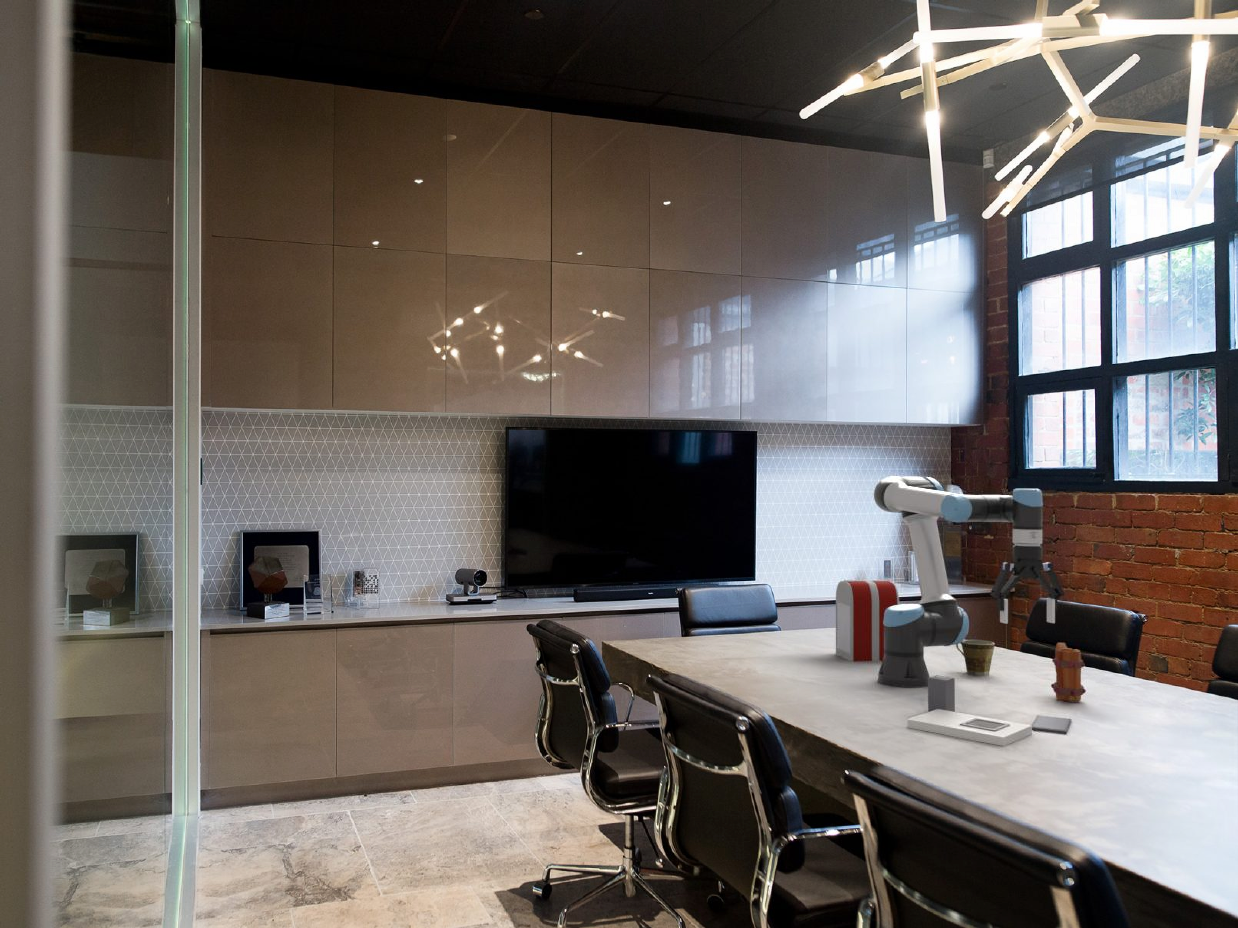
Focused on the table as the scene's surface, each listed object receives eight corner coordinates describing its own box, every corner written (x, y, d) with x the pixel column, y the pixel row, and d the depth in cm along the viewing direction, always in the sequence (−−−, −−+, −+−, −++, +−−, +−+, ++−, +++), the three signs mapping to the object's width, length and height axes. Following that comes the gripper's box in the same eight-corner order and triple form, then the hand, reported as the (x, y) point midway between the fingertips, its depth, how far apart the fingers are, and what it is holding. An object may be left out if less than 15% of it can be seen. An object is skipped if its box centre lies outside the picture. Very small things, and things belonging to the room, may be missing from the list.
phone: (1030, 732, 232) (1030, 726, 232) (1037, 719, 245) (1037, 714, 245) (1066, 736, 228) (1066, 730, 228) (1071, 723, 241) (1071, 718, 241)
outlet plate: (907, 727, 234) (907, 717, 234) (937, 716, 245) (937, 707, 246) (1003, 746, 217) (1003, 735, 217) (1031, 733, 228) (1031, 724, 229)
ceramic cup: (1001, 674, 304) (1000, 642, 304) (982, 677, 298) (981, 645, 298) (966, 667, 314) (965, 637, 315) (947, 670, 309) (946, 640, 309)
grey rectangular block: (928, 711, 251) (927, 676, 251) (937, 708, 255) (936, 674, 255) (946, 714, 248) (945, 679, 248) (954, 711, 251) (954, 676, 251)
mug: (1088, 704, 260) (1088, 649, 261) (1057, 703, 262) (1056, 648, 262) (1074, 693, 275) (1074, 641, 275) (1044, 692, 276) (1044, 640, 277)
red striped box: (834, 653, 341) (834, 578, 342) (882, 652, 343) (881, 577, 344) (850, 661, 325) (850, 582, 326) (900, 660, 327) (900, 582, 328)
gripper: (991, 545, 255) (991, 625, 254) (1078, 545, 257) (1078, 624, 257) (977, 543, 262) (977, 620, 262) (1062, 544, 265) (1062, 620, 265)
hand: (1027, 622), depth 259 cm, fingers open, 13 cm apart
